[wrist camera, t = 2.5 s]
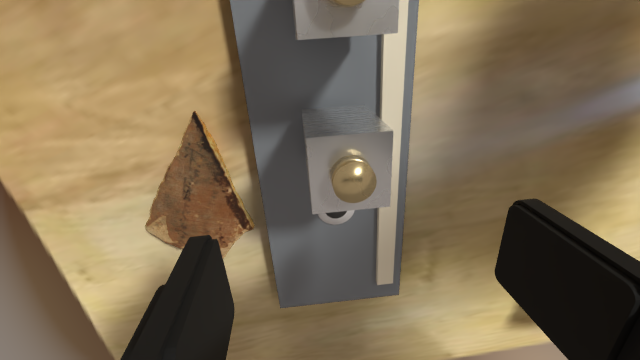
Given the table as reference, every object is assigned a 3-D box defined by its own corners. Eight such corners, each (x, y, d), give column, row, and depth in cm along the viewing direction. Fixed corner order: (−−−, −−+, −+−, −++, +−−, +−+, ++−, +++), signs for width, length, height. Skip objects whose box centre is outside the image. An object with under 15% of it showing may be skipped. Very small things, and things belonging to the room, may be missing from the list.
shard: (199, 106, 21) (192, 111, 20) (294, 156, 24) (294, 165, 22) (147, 220, 25) (137, 233, 23) (233, 255, 27) (230, 269, 25)
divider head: (301, 107, 19) (306, 145, 13) (362, 102, 20) (400, 137, 13) (306, 164, 21) (313, 225, 14) (362, 159, 21) (396, 216, 15)
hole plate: (221, -75, 17) (213, -89, 15) (414, -84, 17) (429, -99, 16) (280, 295, 29) (280, 312, 27) (393, 282, 29) (400, 298, 28)
